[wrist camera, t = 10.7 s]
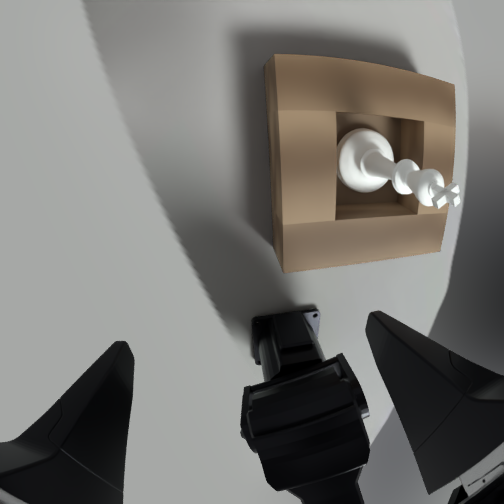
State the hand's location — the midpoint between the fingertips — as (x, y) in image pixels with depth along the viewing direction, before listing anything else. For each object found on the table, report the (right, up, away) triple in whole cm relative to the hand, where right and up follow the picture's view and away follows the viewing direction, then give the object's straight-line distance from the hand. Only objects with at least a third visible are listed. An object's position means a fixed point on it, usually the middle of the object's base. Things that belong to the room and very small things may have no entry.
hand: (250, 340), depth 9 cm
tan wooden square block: (+8, +10, +10) cm, 17 cm away
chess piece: (+8, +10, +10) cm, 16 cm away
